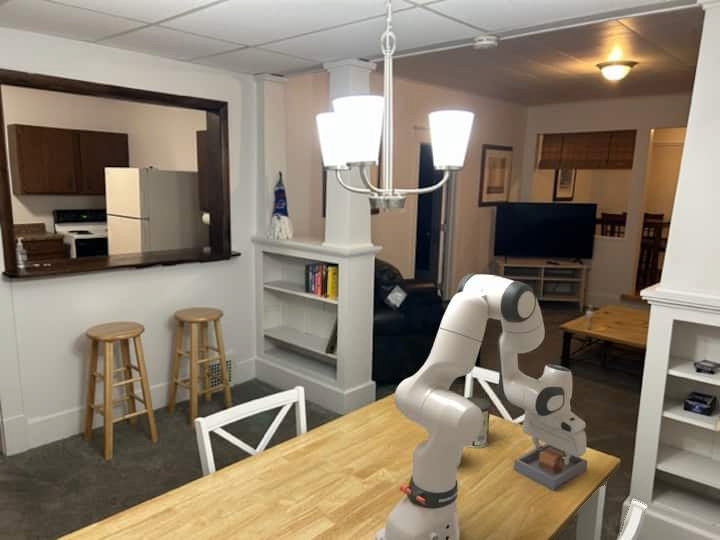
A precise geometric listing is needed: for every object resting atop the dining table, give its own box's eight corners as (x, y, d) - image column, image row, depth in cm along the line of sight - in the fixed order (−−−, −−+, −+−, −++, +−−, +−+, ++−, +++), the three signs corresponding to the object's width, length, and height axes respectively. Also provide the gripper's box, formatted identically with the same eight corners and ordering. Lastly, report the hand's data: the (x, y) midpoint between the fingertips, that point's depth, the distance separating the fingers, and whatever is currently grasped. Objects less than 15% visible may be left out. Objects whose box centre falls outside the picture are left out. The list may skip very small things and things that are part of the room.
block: (553, 473, 159) (554, 458, 158) (538, 466, 163) (539, 451, 162) (562, 468, 162) (563, 453, 161) (547, 461, 166) (549, 447, 165)
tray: (553, 491, 152) (554, 480, 151) (513, 469, 163) (514, 459, 162) (586, 471, 163) (587, 460, 162) (547, 452, 174) (547, 442, 173)
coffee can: (468, 430, 188) (470, 394, 186) (493, 440, 181) (496, 402, 179) (452, 440, 181) (453, 402, 178) (477, 451, 174) (480, 412, 171)
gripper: (519, 406, 166) (517, 446, 168) (579, 431, 150) (575, 474, 152) (531, 401, 170) (528, 440, 172) (591, 425, 154) (587, 468, 156)
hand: (551, 457), depth 162 cm, fingers open, 8 cm apart
